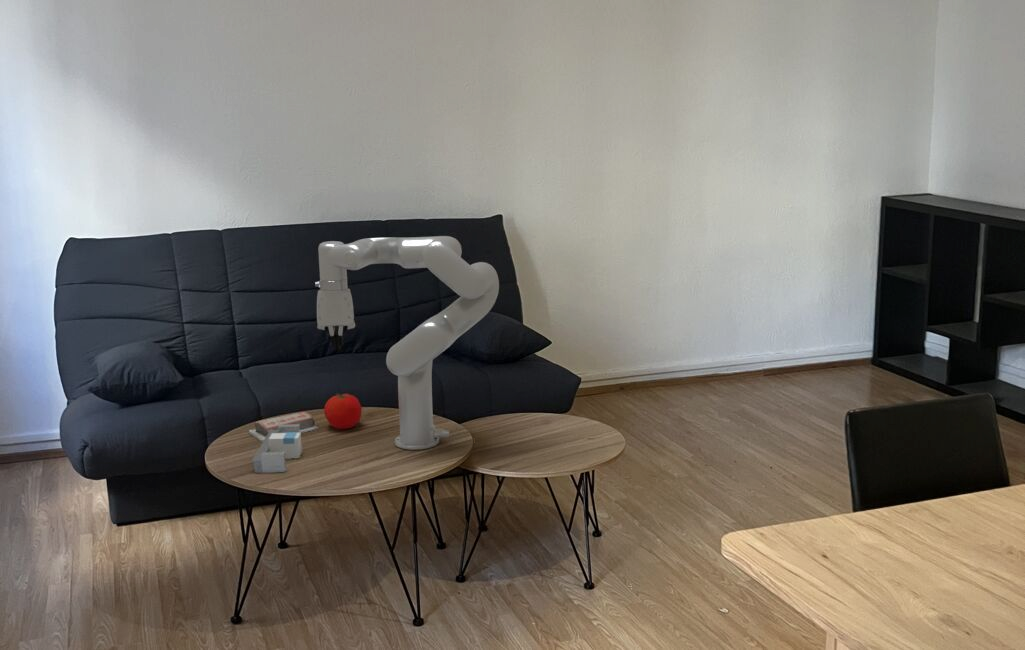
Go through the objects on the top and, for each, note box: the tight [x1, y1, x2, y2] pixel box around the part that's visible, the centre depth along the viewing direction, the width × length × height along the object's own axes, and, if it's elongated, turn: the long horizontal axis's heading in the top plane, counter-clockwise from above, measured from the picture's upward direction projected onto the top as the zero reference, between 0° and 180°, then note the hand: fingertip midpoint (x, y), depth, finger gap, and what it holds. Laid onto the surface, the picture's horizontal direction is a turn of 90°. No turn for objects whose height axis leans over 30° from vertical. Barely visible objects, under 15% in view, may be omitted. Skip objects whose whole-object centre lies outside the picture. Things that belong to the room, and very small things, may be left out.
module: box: [269, 432, 303, 460], centre depth 301 cm, size 8×5×6 cm, turn 92°
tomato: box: [323, 392, 363, 430], centre depth 325 cm, size 11×13×10 cm
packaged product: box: [248, 411, 319, 443], centre depth 322 cm, size 18×5×10 cm
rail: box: [251, 424, 300, 474], centre depth 301 cm, size 9×26×5 cm, turn 2°
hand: (337, 348), depth 310 cm, fingers closed
